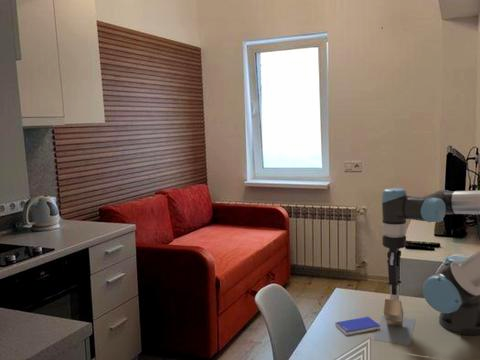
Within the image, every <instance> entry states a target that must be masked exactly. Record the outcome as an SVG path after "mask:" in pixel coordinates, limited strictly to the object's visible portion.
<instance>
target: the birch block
mask: <svg viewBox="0 0 480 360" xmlns="http://www.w3.org/2000/svg"><path fill="white" fill-rule="evenodd" d="M404 313H405V312H404V308H403V305H402V300H399V301H398V300H390V298H389V299H388V298H387V299H386V298H385V299H384V307H383V316H385V320H386V323H387V325H390V326H398V327H403V318H404Z"/></svg>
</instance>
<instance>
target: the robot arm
mask: <svg viewBox="0 0 480 360" xmlns="http://www.w3.org/2000/svg"><path fill="white" fill-rule="evenodd" d="M381 210H382V211H381V212H382V224H380V227H381V228H382V234H383V235H382V246H383V247H384V248H388V249H389V250H388V252H387V261H386V262H387V267H388V268H387V269H388V271H387V272H388V282H387V285H388V286H389V300H398V301H400V284H402V281H401V280H400V279H401V276H400V275H401V256H402V251H401V250H400V249H404V248H406V247H407V236H406V235H407V220H413V221H420V222H428V223H441V222H443V219H444V218H445V216H446V215H480V189H479V190H477V189H476V190H455V191H453V190H451V191H450V190H448V189H444V190H437V191H435V192H433V193H430V194H426V195H424V196H412V195H407V191H406V189H404V188H400V187H392V188H390V187H389V188H385V189H384V190H383V191H382V195H381ZM443 265H444V267H443V268H442V269H440V270H439V271H437V272H436V273H434V274H433V275H430V276H429V277H428V278H427V279H426V280H425V281H424V283H423V286H422V295H423V297H424V299H425V301H426V303H427V304H428V305H429V307H430V308H432V309H433V310H435V311H436V312H439V316H438V323H439V325H440V326H441V327H442V328H443V329H445V330H447V331H450V332H453V333H456V334H460V335H464V336H465V335H467V336H479V335H480V249H479V250H477V251H475V253H473V254H472V255H469V257H466V256H448V257H445V259H444V263H443Z"/></svg>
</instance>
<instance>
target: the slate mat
mask: <svg viewBox="0 0 480 360" xmlns="http://www.w3.org/2000/svg"><path fill="white" fill-rule="evenodd" d="M380 319H381V320H380V322H379V323H378V324H379V325H380V329H376V332H375V335H374V337H373V341H375V342H376V341H377V342H383V343H391V344H397V345H404V346H411V342H412V337H413V333H414V328H415V325H416V319H414V318H405V317H403V327H398V326H390V325H387V323H386V320H385V316H384V315H382V316H381V318H380Z"/></svg>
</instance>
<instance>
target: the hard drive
mask: <svg viewBox="0 0 480 360" xmlns="http://www.w3.org/2000/svg"><path fill="white" fill-rule="evenodd" d="M379 324H380V323H378V322H376V321H375V319H372V318H371V317H370V316H365V317H364V316H363V317H358V318H353V319H346V320H342V321H341V320H340V321H336V322H335V326H336V328H338V329H339V330H340V331H341V332H342V333H343V334H345V336H350V335H353V334H355V335H356V334H360V333H365V332H370V331H377V329H380V325H379Z"/></svg>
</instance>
